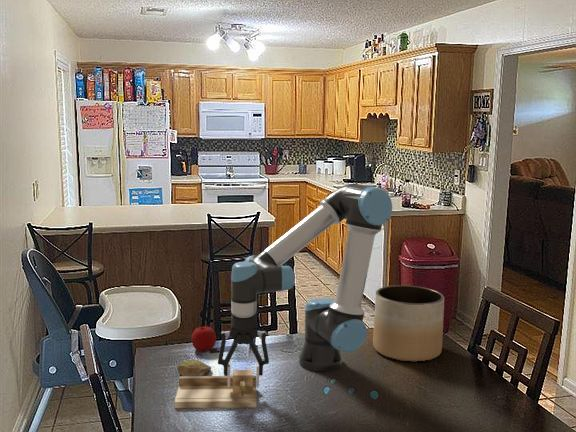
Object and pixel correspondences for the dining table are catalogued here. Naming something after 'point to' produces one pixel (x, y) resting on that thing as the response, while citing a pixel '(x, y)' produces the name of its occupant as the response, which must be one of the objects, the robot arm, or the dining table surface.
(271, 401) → the dining table surface
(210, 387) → the board
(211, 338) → the apple
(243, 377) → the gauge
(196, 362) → the rock
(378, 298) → the planter
